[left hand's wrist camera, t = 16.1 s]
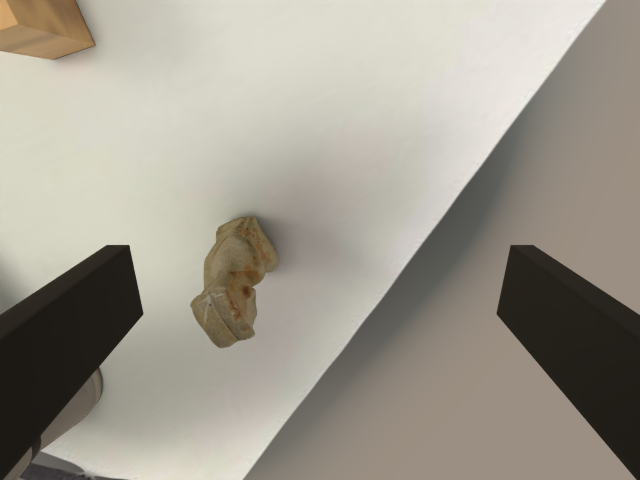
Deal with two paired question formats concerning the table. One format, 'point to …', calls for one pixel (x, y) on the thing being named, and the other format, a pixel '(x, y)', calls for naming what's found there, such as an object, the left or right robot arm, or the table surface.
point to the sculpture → (233, 281)
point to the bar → (42, 28)
